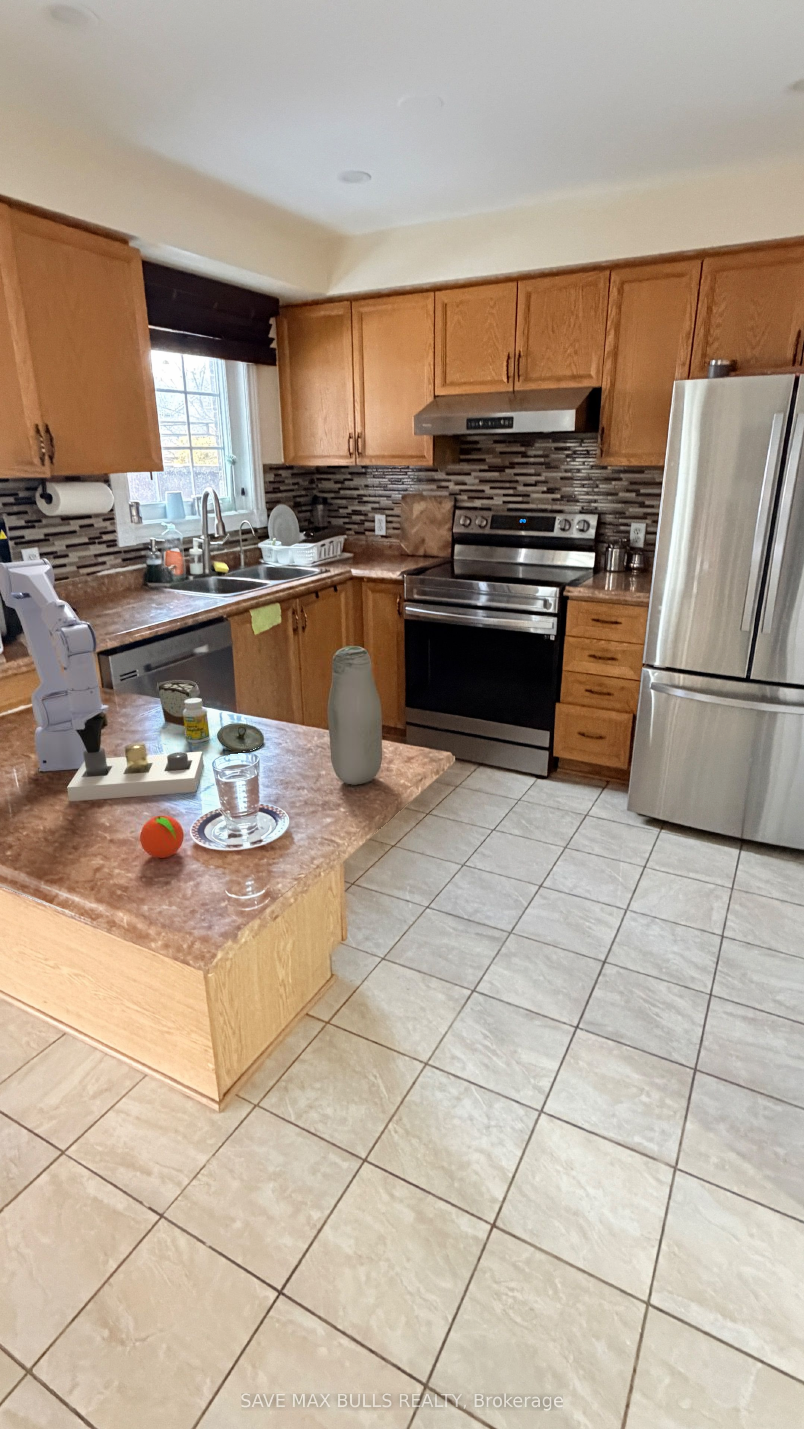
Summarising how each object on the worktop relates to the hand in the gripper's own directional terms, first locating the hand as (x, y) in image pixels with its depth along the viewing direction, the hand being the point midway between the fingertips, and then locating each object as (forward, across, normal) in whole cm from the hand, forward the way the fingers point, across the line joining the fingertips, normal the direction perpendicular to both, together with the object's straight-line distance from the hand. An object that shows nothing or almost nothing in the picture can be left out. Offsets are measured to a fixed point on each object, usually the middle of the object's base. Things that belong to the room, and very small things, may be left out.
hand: (93, 751), depth 151 cm
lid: (+8, +17, -28) cm, 33 cm away
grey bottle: (+8, -8, -52) cm, 53 cm away
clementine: (+8, -32, -18) cm, 38 cm away
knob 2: (+7, 0, -16) cm, 18 cm away
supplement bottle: (+8, +23, -17) cm, 30 cm away
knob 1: (+5, 0, 0) cm, 5 cm away
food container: (+8, +36, -13) cm, 39 cm away
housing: (+7, 0, -8) cm, 11 cm away
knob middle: (+5, 0, -8) cm, 9 cm away
